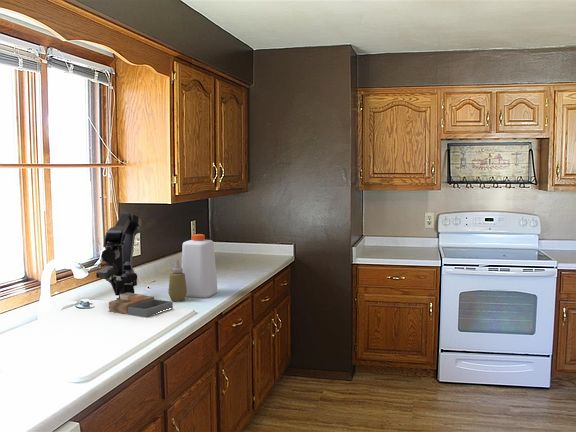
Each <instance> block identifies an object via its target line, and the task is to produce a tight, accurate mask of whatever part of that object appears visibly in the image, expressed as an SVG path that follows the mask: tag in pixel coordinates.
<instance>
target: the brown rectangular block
mask: <svg viewBox="0 0 576 432" xmlns="http://www.w3.org/2000/svg"><path fill="white" fill-rule="evenodd" d="M143 295H144V300H141V301H137V302H136V301H130V300H123V299H118V300H117V299H115V300H110V301H108V302H109V303H108V305H109V306H108V307H109V308H108V309H109V310H108V311H109V312H111V313H112V312H113V313H118V314H123V315H129V314H128V307H130V306H133V305H136V304H140V303H143V302H147V301H150V300H153V299H155V296H151V295H145V294H143Z"/></svg>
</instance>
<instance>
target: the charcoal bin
mask: <svg viewBox="0 0 576 432" xmlns="http://www.w3.org/2000/svg"><path fill="white" fill-rule="evenodd" d="M173 302H174V301H170V300H165V299H164V300H162V299H158V298H157V299H156V298H154V299H153V300H150V301H147V302H143V303H140V304H136V305H133V306H130V307H128V314H127V315H129V316H135V317H141V318H142V317H143V318H149V317H151V316H154V314H155V315H157V314H156V313H158V312H160V311H163V310H166V309H169V308H174V307H173V305H174V304H173ZM158 314H159V313H158Z"/></svg>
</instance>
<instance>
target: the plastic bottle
mask: <svg viewBox="0 0 576 432" xmlns="http://www.w3.org/2000/svg"><path fill="white" fill-rule="evenodd" d="M205 238H206V235H205V234H203V233H202V234H201V233H197V234H195V233H193V234H192V235H191V239H190V240H186V241H184V242H183V243H182V248H181V249H182V251H181V266H180V268H183V272H182V273H184V274H185V280H186V288H187V293H186V297H185V298H195V299H206V298H210V297H212V296H213V295H215V294H217V293H218V280H217V279H218V278H217V265H216V256H215V255H216V254H215V243H214V240H212V239H211V240H210V239H205Z"/></svg>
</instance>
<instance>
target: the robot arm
mask: <svg viewBox="0 0 576 432" xmlns="http://www.w3.org/2000/svg"><path fill="white" fill-rule="evenodd" d="M141 227H142V219H141V218H140V216H138V215H135V214H133V213H132V212H121V213H120V215H119V218H118V220H117V222H116V223H115V225H114V226H112V227H110V228H109V229H107V231H106V232H105V237H104V241H103V247H104V248H105V249H104V250H103V251H102V253H101V260H102V261H104V263H106V266H104V267H102V268H101V269H99V270H97V272H96V274H95V276H96V279H104V280H106V281H107V282H108V283H109V284H110V285H111V286H112V287H111V288H112V290H113V292H114V295H115V296H118V297H116V299H115V300H118V299H120V294H123V293H127V292H129V293H135V287H136V286H138V274H137V272H135V269H134V268H133V266H132V264H133V255H134V247H135V240H136V236H137V234H138V233H140V229H141Z"/></svg>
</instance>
